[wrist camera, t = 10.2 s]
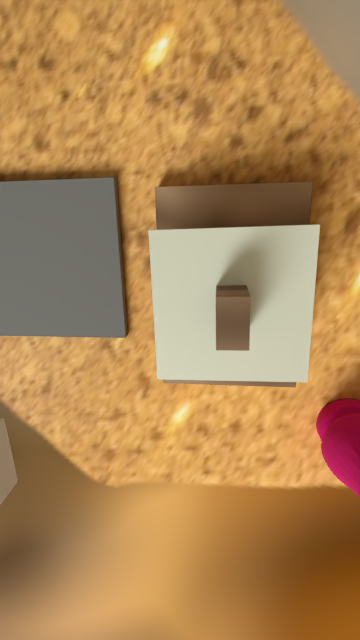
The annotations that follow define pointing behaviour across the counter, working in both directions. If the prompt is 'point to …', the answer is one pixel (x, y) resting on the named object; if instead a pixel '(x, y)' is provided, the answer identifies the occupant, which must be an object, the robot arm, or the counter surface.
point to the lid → (234, 302)
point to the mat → (61, 259)
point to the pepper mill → (342, 440)
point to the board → (233, 219)
